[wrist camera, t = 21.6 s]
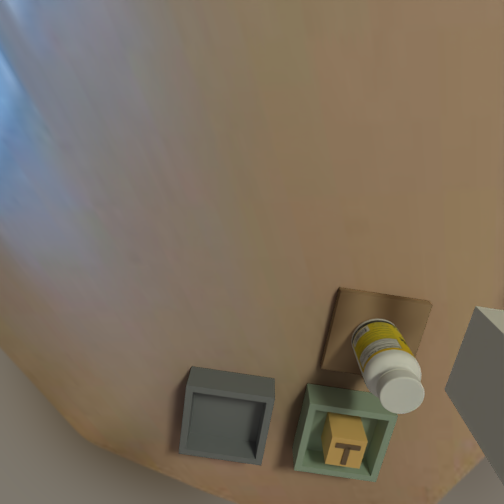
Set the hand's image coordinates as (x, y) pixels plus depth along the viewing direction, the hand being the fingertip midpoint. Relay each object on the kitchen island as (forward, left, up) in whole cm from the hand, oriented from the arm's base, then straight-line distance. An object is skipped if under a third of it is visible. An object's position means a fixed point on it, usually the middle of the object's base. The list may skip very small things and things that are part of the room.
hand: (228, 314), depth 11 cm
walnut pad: (+16, -17, -32) cm, 39 cm away
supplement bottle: (+16, -17, -31) cm, 39 cm away
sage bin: (+15, -30, -32) cm, 46 cm away
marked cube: (+15, -30, -31) cm, 46 cm away
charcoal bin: (+1, -30, -32) cm, 44 cm away
